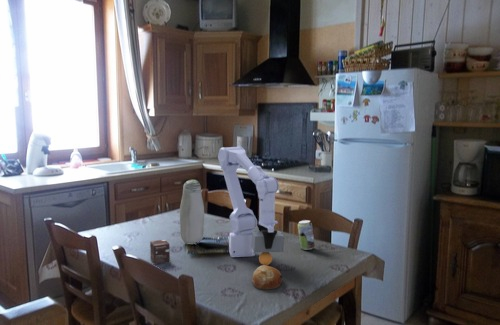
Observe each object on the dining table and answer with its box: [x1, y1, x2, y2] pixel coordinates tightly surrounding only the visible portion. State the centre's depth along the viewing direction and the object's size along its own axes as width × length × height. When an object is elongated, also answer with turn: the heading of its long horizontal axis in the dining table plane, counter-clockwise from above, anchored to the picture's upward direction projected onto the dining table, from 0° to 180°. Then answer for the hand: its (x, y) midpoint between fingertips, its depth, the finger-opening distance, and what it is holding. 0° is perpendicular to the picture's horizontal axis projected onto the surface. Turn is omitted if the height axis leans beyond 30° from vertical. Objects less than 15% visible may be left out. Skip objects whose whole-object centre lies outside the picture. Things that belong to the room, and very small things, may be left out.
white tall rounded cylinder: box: [179, 179, 205, 245], centre depth 174 cm, size 10×10×28 cm
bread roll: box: [251, 264, 283, 290], centre depth 137 cm, size 10×10×8 cm
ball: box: [258, 252, 273, 266], centre depth 153 cm, size 5×5×5 cm
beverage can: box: [297, 219, 315, 251], centre depth 171 cm, size 6×7×12 cm
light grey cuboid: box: [251, 230, 285, 253], centre depth 152 cm, size 11×6×6 cm, turn 100°
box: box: [149, 239, 171, 265], centre depth 156 cm, size 6×6×7 cm
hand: (266, 245), depth 153 cm, fingers closed on light grey cuboid, 6 cm apart
